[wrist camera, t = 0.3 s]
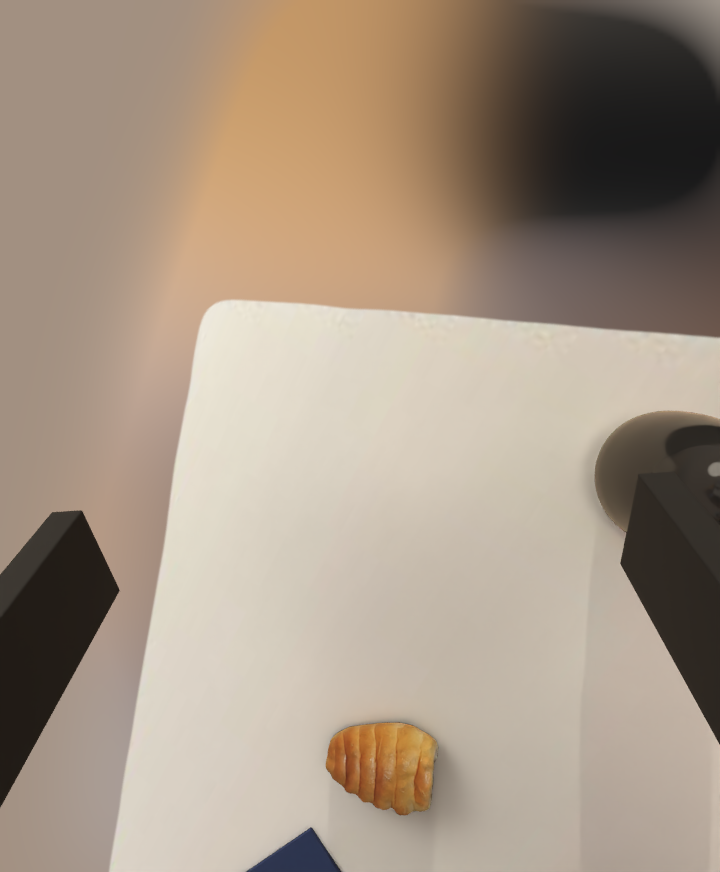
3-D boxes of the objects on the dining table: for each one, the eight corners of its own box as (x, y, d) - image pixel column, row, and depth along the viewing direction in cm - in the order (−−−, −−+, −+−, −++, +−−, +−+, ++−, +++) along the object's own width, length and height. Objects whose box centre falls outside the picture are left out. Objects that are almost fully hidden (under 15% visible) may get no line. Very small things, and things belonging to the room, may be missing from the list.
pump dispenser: (728, 521, 43) (889, 556, 28) (599, 549, 44) (686, 597, 29) (693, 400, 44) (831, 372, 29) (567, 432, 45) (635, 420, 30)
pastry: (326, 784, 47) (317, 813, 43) (333, 707, 47) (324, 729, 43) (433, 802, 45) (433, 834, 42) (439, 723, 46) (440, 747, 42)
